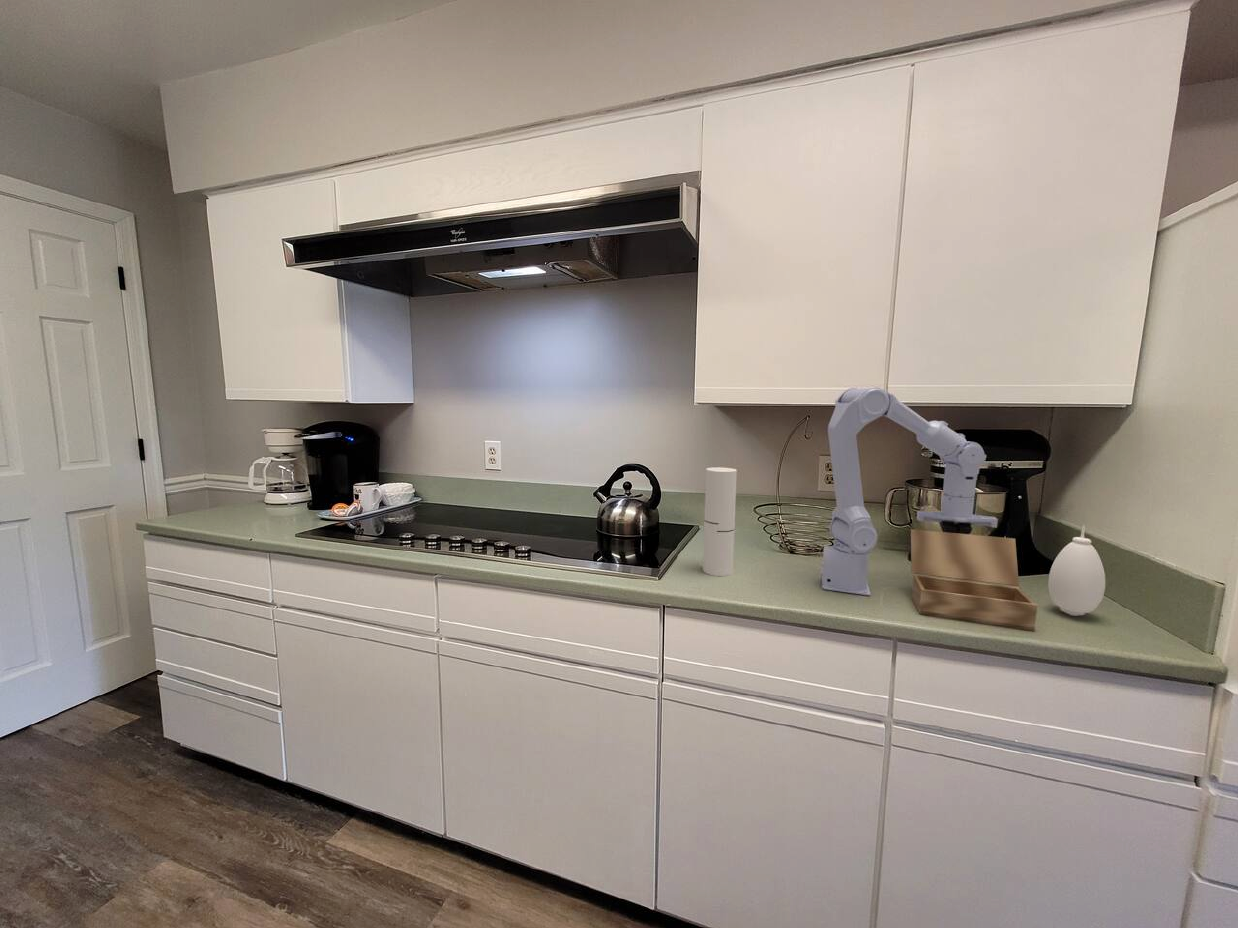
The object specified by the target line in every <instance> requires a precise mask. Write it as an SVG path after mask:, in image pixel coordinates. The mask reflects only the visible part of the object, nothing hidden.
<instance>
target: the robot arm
mask: <svg viewBox="0 0 1238 928" xmlns="http://www.w3.org/2000/svg"><path fill="white" fill-rule="evenodd" d="M834 405H835V407H834V410H833V413H832V415H831V418H830V421H829V423H828V426H827V435H828V443H829V452H830V460H831V468H832V469H831V470H832V477H833V486H834V487H833V488H834V495H835V502H836V503H835V504H836V506H835V508H834V509H832V512H831V515H832V516H831V522H830V524H829V532H830V535H831V536H832V538H833V539H834V540H833V541H834V542H833V545H824V546H823V558H822V559H823V560H822V568H821V570H820V578H821V589H823V590H826V591H827V590H829V591H835V592H841V593H849V594H855V595H862V596H863V595H864V596H870V595H871V591H870V587H869V584H868V577H869V576H868V575H869V565H870V554H871V550H873V549H874V548H875V546H876V545H877V542H878V538H879V537H878V536H879V535H878V532H877V530H876V529H875V527H874V525H873V524H872V517H871V516H870V514H869V512H868V510H867V509H866V507H865V505H864V504H865V503H864V494H863V487H862V485H863V484H862V477H861V468H860V459H859V450H858V441H857V435H858V434H859V432H860V431H861V430H862V429H863V428H864V427H865V426H867V425H868V424H869V423H871V422H873V421H875V420H877V419H878V418H879V419H880V417H886V418H887V419H889V420H891V421H893V422H895V423H896V424H898V425H900V426H902V427H903V428H904V429H906V430H909V431H910V432H913V433H914V434H915V435H916V441H917V442H918V443H919V444H920V445H922V446H923V447H924V448H927V450H930V451H931V452H933V453H934V454H935V455H938V456H939V458H940V461H941V462H942V464H945V467H944V477H943V487H942V489H943V490H942V499H941V508H940V511H929V510H927V511H923V510H920V511H919V510H917V512H916V520H917V521H918V522H932V523H933V522H934V523H939V527H940V528H941V530H942V531H941V532H948V533H959V534H970V535H971V533H972V532H973V527H972V526H981V527H990V528H998V520H999V519H998V518H996V516H987V515H978V514H974V513H973V512H974V506H975V505H974V503H975V494H976V485H977V477H978V475H979V474H980V469H981V466H983V464H984V463H985V461H986V458H987V454H986V453H985V451H984V449H983V447H982V446H981V444H979V443H978V442H975V441H967V439H966V435H964V434H963V433H957V432H956V431H954V430H952V429H951V428H950V427H948V425H949V423H947V422H946V421H945V420H939V421H938V420H931V421H928V420H926V419H925V418H923V417H922V416H921V415H919V414H918V413H917V412H916V411H914V410H913V409H911V408H910V407H908V406H907V405H906V404H904V403H903V402H902V401H901V400H899V399H898V398H897V397H896V396H895V395H894V394H893V393H890V392H887V391H886V390H884V389H883V388H881V387H877V386H872V387H865V388H862V387H861V388H857V387H850V388H848V389H846V390H844V391H843V392H842V393H841V394H840V395H839V396H838V397H837V398H836V399H835V401H834Z"/></svg>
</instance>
